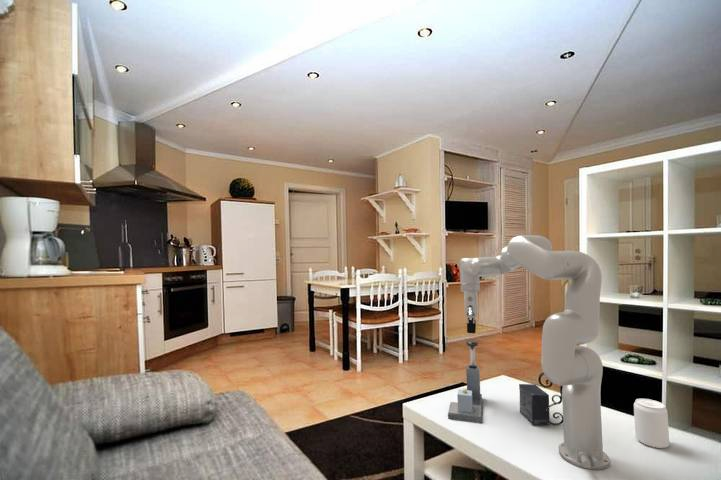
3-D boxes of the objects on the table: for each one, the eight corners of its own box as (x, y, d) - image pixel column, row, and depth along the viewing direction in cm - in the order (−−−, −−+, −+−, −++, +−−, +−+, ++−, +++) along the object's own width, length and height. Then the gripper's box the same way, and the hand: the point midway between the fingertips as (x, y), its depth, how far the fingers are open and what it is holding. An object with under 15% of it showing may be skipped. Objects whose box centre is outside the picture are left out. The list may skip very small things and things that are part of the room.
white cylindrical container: (656, 451, 103) (654, 410, 104) (629, 438, 111) (627, 399, 112) (676, 447, 106) (674, 406, 106) (648, 434, 113) (645, 396, 114)
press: (481, 423, 123) (480, 385, 123) (448, 418, 127) (447, 382, 127) (481, 397, 144) (480, 365, 145) (453, 394, 148) (452, 363, 148)
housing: (472, 412, 127) (471, 392, 127) (457, 410, 129) (457, 391, 129) (472, 406, 132) (471, 387, 132) (458, 405, 133) (458, 386, 134)
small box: (551, 425, 120) (550, 394, 121) (532, 425, 120) (531, 394, 121) (536, 411, 131) (535, 383, 131) (519, 412, 131) (518, 383, 131)
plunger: (479, 376, 140) (477, 343, 141) (467, 375, 142) (465, 343, 142) (479, 373, 145) (478, 341, 145) (467, 372, 146) (466, 340, 147)
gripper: (479, 290, 135) (481, 336, 134) (479, 285, 152) (481, 327, 151) (459, 289, 138) (460, 335, 137) (461, 285, 154) (463, 326, 153)
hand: (471, 330), depth 144 cm, fingers open, 7 cm apart
